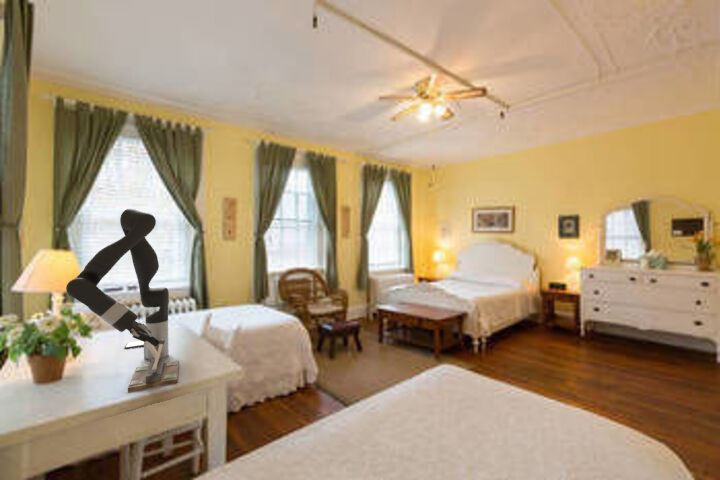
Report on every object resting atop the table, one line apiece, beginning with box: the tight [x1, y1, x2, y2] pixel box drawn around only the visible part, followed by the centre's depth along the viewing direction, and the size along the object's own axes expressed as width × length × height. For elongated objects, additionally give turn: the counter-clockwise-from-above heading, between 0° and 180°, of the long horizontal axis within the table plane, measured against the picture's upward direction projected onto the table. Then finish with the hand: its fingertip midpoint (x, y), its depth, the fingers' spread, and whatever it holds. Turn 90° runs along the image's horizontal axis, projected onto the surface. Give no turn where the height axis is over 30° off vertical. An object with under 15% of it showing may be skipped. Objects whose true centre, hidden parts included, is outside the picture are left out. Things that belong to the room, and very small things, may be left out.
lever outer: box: [151, 337, 166, 373], centre depth 126 cm, size 2×4×13 cm, turn 28°
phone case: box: [123, 340, 144, 350], centre depth 171 cm, size 9×2×16 cm
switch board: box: [127, 357, 180, 393], centre depth 132 cm, size 16×21×4 cm
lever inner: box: [145, 341, 160, 358], centre depth 137 cm, size 2×4×13 cm, turn 27°
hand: (157, 344), depth 126 cm, fingers closed
